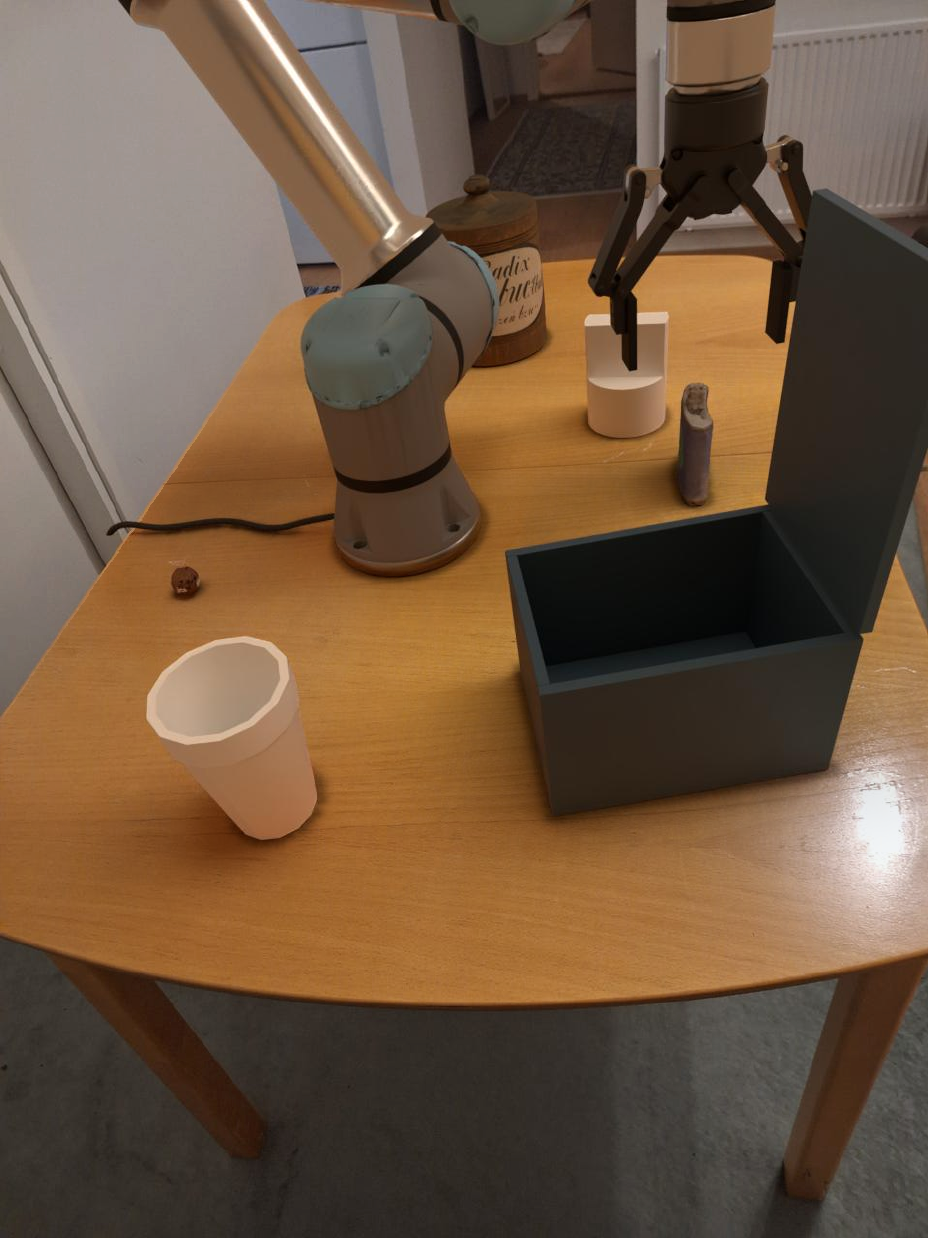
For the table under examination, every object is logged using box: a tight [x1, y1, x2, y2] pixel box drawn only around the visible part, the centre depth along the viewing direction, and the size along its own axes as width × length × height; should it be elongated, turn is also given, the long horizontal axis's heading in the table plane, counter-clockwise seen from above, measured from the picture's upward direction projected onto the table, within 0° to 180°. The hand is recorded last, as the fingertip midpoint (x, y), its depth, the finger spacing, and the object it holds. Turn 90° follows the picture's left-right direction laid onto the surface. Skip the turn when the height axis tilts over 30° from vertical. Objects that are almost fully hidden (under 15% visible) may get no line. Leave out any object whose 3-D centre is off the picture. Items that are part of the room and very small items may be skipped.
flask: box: [675, 382, 714, 507], centre depth 81 cm, size 9×3×11 cm, turn 172°
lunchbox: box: [504, 503, 864, 817], centre depth 58 cm, size 20×15×13 cm
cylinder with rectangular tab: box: [584, 311, 670, 439], centre depth 91 cm, size 9×9×12 cm
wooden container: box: [424, 173, 548, 367], centre depth 108 cm, size 15×15×22 cm
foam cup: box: [145, 635, 318, 841], centre depth 57 cm, size 10×9×13 cm
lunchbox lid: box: [764, 187, 928, 635], centre depth 46 cm, size 21×15×6 cm
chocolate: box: [168, 558, 201, 595], centre depth 81 cm, size 3×2×4 cm
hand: (701, 351), depth 75 cm, fingers open, 13 cm apart
